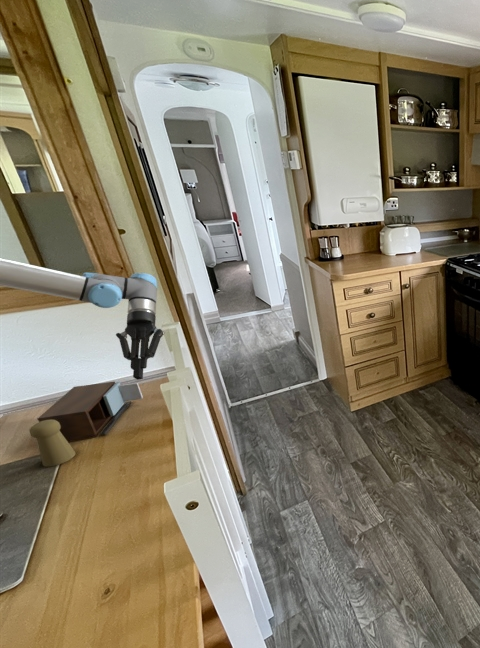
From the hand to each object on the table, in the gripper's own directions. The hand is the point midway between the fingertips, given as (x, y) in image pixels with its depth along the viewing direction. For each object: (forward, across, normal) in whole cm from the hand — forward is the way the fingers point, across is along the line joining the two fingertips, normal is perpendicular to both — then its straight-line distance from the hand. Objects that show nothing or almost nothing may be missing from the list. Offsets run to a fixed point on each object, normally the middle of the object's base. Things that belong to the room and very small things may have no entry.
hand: (137, 377), depth 123 cm
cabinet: (+14, +9, +4) cm, 17 cm away
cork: (+26, +9, +16) cm, 32 cm away
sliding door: (+10, +1, +1) cm, 10 cm away
